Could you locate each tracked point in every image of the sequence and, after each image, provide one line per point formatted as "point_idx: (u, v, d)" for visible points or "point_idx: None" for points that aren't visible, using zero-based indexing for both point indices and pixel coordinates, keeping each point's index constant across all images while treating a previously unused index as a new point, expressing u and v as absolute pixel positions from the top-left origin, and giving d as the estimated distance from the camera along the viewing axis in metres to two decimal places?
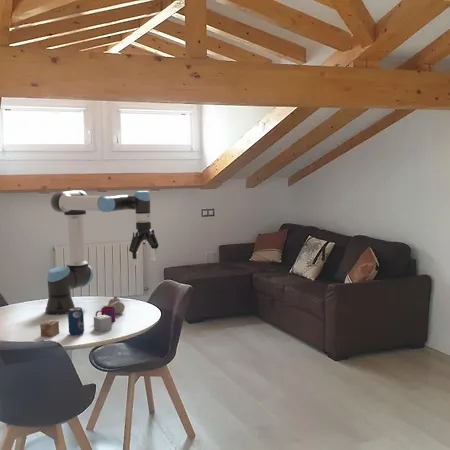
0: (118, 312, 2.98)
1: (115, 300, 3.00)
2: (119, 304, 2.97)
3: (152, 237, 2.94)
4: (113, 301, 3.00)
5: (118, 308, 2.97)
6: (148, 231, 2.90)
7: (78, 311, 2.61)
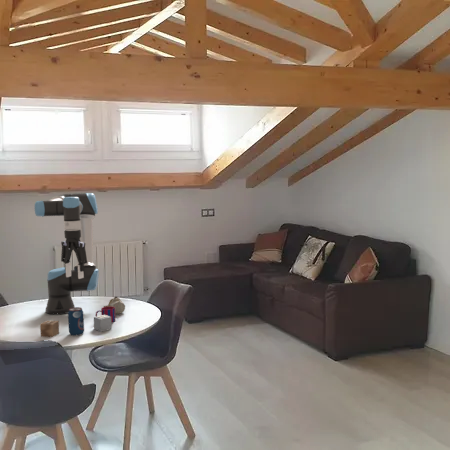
0: (119, 312, 2.99)
1: (115, 300, 3.01)
2: (120, 304, 2.97)
3: None
4: (113, 301, 3.01)
5: (119, 308, 2.98)
6: (75, 241, 2.66)
7: (78, 311, 2.61)
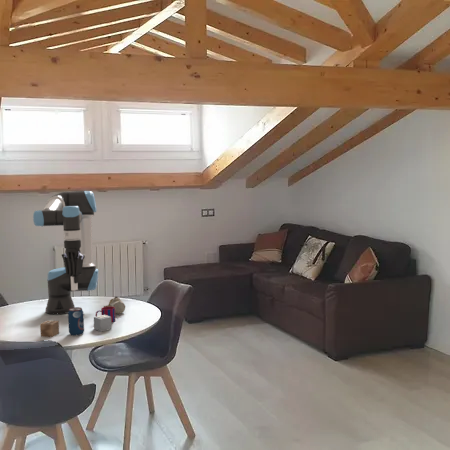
0: (119, 312, 2.99)
1: (116, 300, 3.01)
2: (120, 304, 2.97)
3: None
4: (114, 301, 3.01)
5: (119, 308, 2.98)
6: (75, 250, 2.60)
7: (78, 311, 2.61)
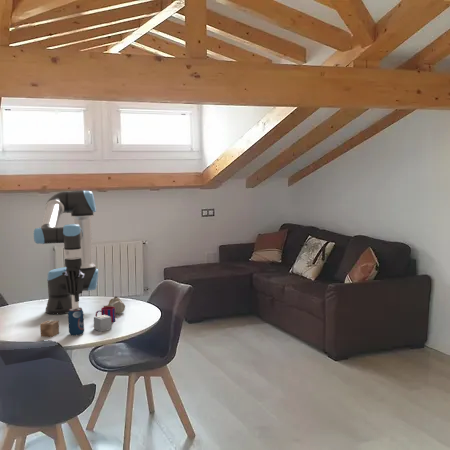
0: (119, 312, 2.99)
1: (115, 300, 3.01)
2: (120, 304, 2.98)
3: None
4: (113, 301, 3.01)
5: (119, 308, 2.98)
6: (76, 269, 2.59)
7: (78, 311, 2.61)
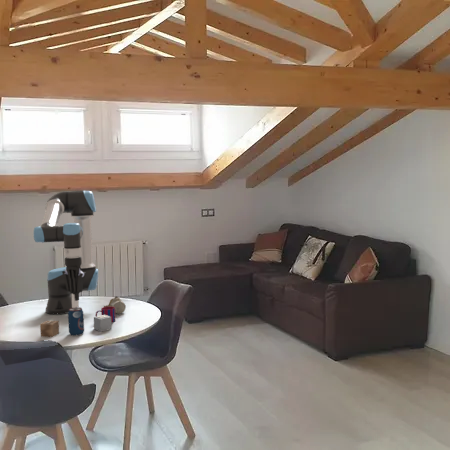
0: (119, 312, 2.99)
1: (116, 300, 3.01)
2: (120, 304, 2.98)
3: None
4: (114, 301, 3.01)
5: (119, 308, 2.98)
6: (76, 268, 2.59)
7: (78, 311, 2.61)
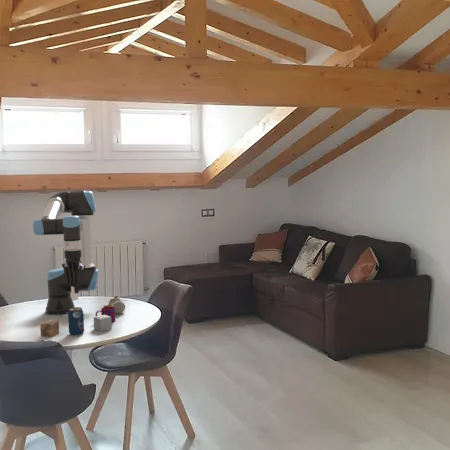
0: (119, 312, 2.99)
1: (116, 300, 3.01)
2: (120, 304, 2.98)
3: None
4: (114, 301, 3.01)
5: (119, 308, 2.98)
6: (75, 261, 2.59)
7: (78, 311, 2.61)
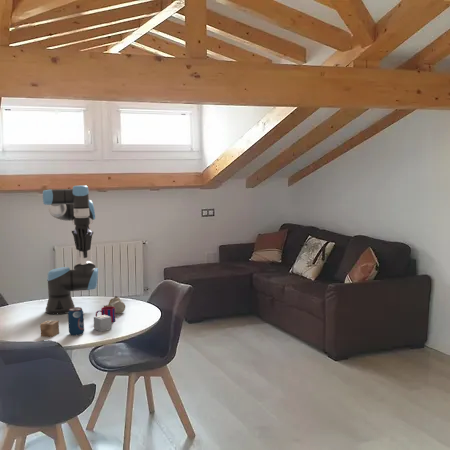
0: (119, 311, 2.99)
1: (116, 300, 3.02)
2: (120, 303, 2.98)
3: None
4: (114, 301, 3.02)
5: (119, 307, 2.98)
6: (84, 227, 2.78)
7: (78, 311, 2.61)
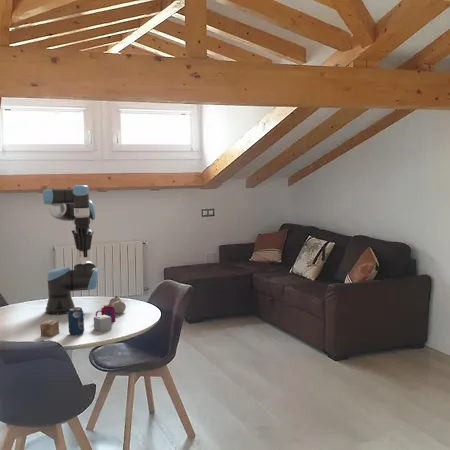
0: (119, 311, 3.00)
1: (116, 299, 3.02)
2: (120, 303, 2.98)
3: None
4: (114, 300, 3.02)
5: (119, 307, 2.99)
6: (84, 227, 2.79)
7: (78, 311, 2.61)
